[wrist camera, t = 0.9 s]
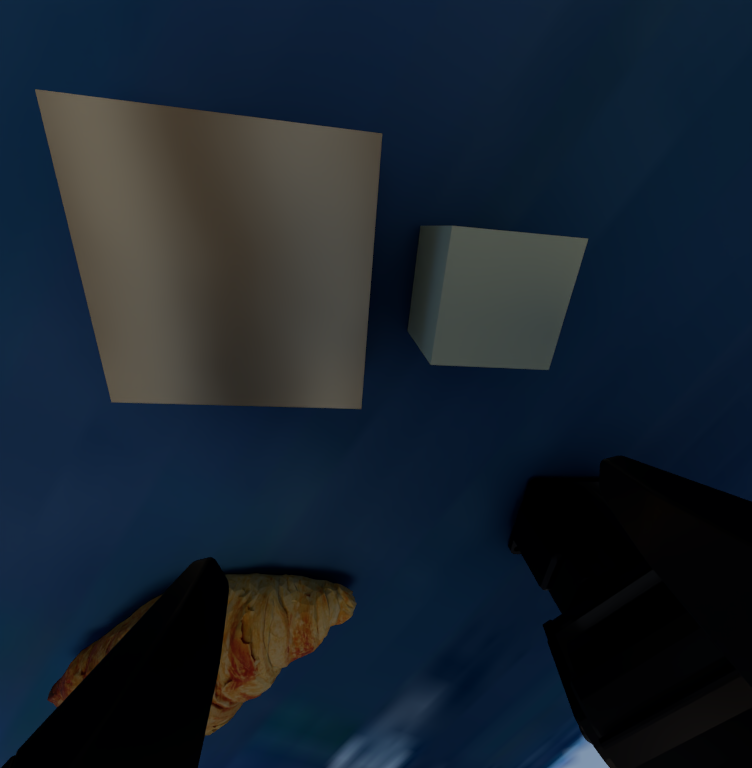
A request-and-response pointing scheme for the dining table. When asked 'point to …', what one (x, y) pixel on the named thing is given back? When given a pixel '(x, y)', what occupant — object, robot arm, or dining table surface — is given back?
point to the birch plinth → (219, 250)
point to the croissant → (244, 636)
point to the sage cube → (491, 295)
